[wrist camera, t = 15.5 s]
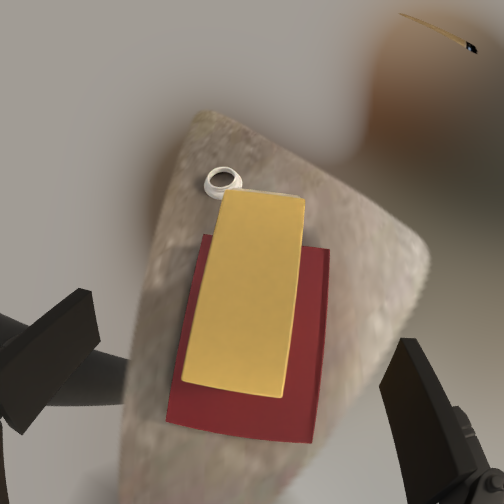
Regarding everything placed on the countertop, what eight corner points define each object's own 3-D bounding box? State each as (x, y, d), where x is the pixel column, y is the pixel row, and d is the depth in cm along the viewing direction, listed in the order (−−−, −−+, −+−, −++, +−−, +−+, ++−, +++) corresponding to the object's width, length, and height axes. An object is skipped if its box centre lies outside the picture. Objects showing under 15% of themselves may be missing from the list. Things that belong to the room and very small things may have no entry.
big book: (303, 435, 21) (312, 443, 18) (178, 416, 22) (165, 421, 18) (321, 267, 28) (330, 249, 24) (209, 253, 29) (203, 233, 25)
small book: (221, 382, 20) (179, 380, 9) (240, 280, 23) (225, 183, 13) (268, 390, 20) (282, 398, 9) (283, 286, 23) (305, 193, 12)
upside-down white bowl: (220, 171, 34) (193, 200, 32) (216, 154, 31) (188, 184, 29) (255, 188, 32) (230, 220, 30) (255, 170, 30) (227, 204, 28)
